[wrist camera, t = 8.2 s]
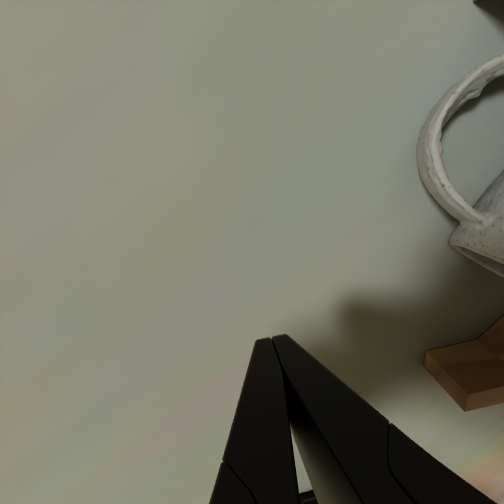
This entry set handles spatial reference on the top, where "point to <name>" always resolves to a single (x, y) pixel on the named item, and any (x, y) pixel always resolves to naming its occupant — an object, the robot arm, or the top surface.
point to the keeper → (471, 368)
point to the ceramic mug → (439, 186)
